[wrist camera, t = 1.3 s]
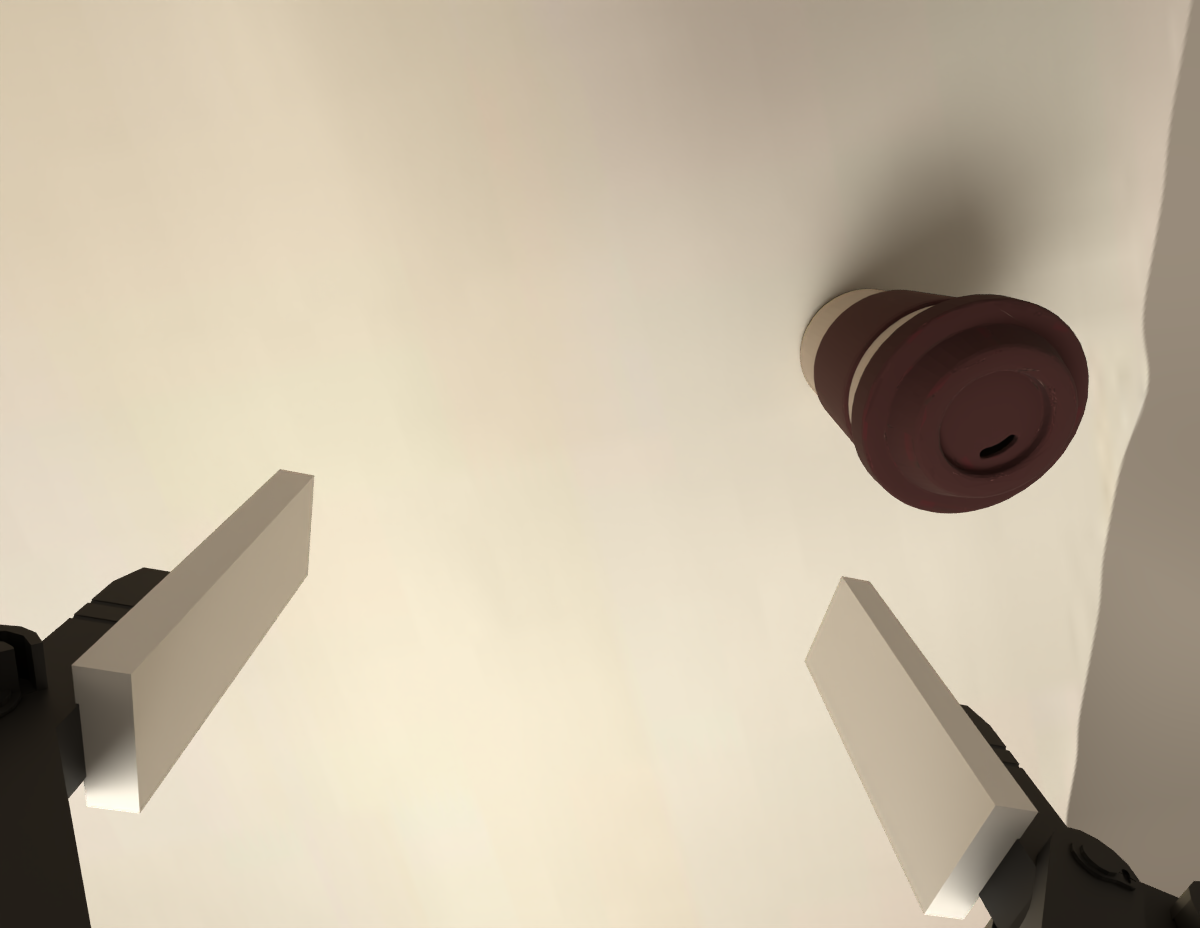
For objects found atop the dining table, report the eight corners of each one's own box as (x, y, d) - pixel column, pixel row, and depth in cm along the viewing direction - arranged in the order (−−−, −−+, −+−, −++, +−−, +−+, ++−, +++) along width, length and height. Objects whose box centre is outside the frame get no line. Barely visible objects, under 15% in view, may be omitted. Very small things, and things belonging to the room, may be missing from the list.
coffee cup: (788, 262, 39) (906, 301, 25) (950, 267, 39) (1155, 308, 25) (766, 419, 42) (858, 530, 29) (914, 422, 43) (1075, 532, 29)
